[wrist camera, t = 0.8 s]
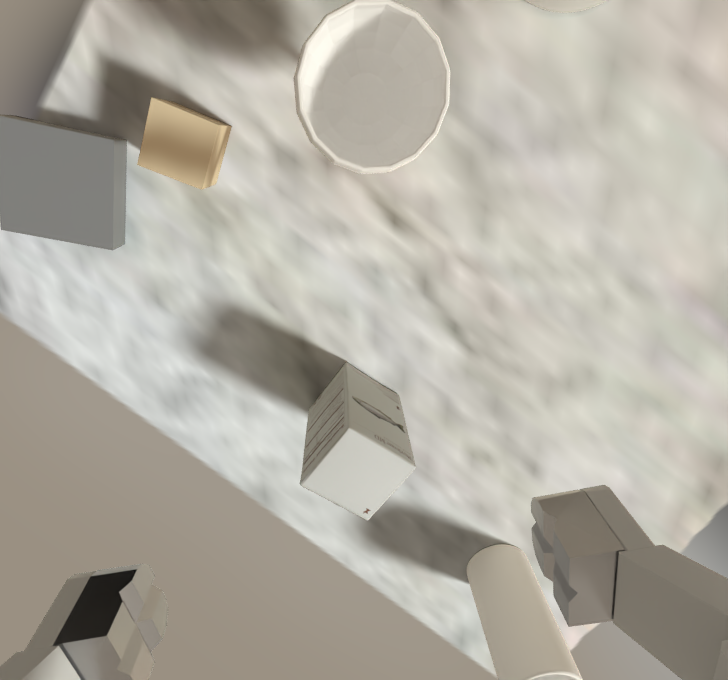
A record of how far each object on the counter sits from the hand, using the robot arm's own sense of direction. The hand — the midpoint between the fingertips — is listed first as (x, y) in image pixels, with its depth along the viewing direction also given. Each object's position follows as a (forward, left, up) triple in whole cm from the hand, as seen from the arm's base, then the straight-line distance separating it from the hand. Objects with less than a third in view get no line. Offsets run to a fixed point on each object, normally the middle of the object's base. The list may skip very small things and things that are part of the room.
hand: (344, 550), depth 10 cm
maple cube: (-2, -14, -37) cm, 40 cm away
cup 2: (+34, +35, -38) cm, 61 cm away
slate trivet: (+5, -23, -38) cm, 44 cm away
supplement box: (+17, +8, -38) cm, 42 cm away
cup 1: (-10, -2, -38) cm, 39 cm away
